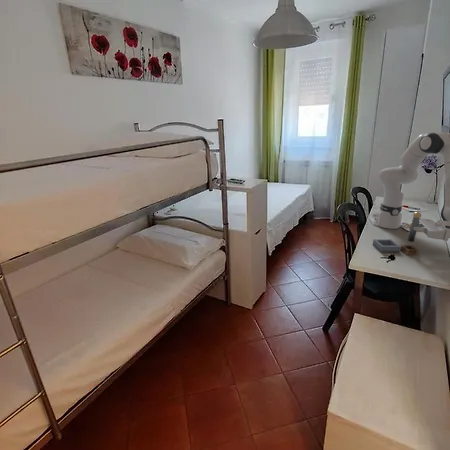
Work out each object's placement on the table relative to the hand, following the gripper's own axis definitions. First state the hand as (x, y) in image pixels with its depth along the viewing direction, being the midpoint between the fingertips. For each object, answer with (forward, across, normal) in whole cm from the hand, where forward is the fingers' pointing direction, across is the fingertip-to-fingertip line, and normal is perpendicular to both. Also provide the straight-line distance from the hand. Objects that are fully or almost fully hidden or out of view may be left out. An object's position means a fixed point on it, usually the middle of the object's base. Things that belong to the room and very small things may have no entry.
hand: (412, 226), depth 161 cm
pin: (-1, 0, +8) cm, 8 cm away
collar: (-1, 0, +15) cm, 15 cm away
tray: (+10, -2, +15) cm, 18 cm away
